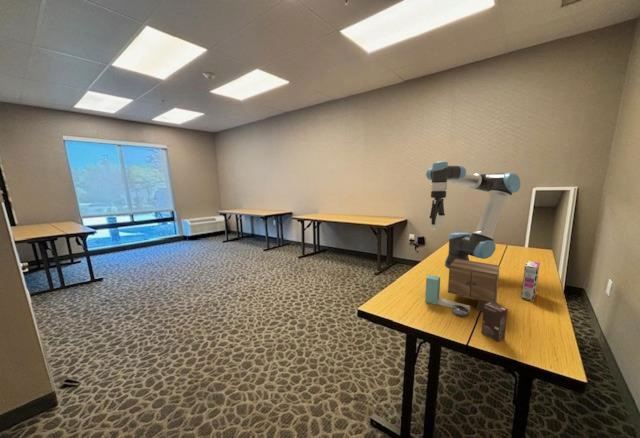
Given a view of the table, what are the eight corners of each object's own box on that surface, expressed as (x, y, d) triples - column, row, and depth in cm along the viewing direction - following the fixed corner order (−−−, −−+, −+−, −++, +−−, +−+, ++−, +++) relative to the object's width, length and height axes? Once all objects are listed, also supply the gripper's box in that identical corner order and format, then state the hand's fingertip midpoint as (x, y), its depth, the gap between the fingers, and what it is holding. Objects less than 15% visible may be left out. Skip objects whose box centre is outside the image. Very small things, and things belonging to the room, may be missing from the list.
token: (450, 308, 109) (450, 304, 109) (465, 311, 107) (466, 306, 107) (453, 315, 103) (454, 311, 103) (469, 318, 102) (470, 313, 101)
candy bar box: (534, 301, 114) (538, 268, 112) (520, 298, 118) (524, 265, 115) (536, 293, 122) (540, 262, 120) (523, 290, 125) (526, 260, 123)
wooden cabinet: (453, 292, 126) (455, 258, 123) (496, 302, 114) (499, 265, 112) (446, 303, 114) (448, 266, 111) (493, 316, 103) (497, 275, 100)
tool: (428, 297, 120) (429, 274, 118) (470, 308, 109) (472, 283, 107) (425, 301, 116) (426, 277, 114) (468, 313, 105) (470, 287, 103)
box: (480, 333, 91) (483, 303, 89) (488, 330, 93) (490, 301, 91) (497, 343, 86) (500, 311, 84) (505, 339, 88) (508, 308, 86)
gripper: (437, 189, 145) (435, 224, 148) (424, 191, 126) (422, 231, 129) (451, 189, 141) (449, 225, 144) (440, 191, 122) (438, 232, 125)
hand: (436, 228), depth 137 cm, fingers open, 13 cm apart
